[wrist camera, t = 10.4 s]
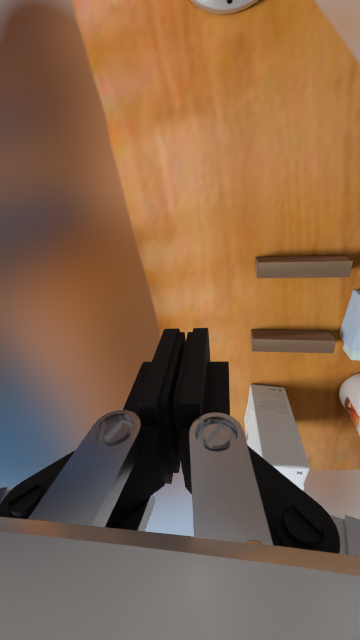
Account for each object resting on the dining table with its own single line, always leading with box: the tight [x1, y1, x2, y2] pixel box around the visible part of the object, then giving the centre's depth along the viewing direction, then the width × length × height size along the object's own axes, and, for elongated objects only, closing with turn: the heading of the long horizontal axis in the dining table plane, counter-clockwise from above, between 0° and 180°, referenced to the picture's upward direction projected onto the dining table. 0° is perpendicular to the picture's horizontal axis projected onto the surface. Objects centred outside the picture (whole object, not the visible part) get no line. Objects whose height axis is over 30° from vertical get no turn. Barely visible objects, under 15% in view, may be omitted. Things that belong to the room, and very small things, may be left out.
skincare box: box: [244, 384, 310, 491], centre depth 42 cm, size 8×6×15 cm
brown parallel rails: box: [251, 255, 353, 353], centre depth 39 cm, size 13×11×3 cm
